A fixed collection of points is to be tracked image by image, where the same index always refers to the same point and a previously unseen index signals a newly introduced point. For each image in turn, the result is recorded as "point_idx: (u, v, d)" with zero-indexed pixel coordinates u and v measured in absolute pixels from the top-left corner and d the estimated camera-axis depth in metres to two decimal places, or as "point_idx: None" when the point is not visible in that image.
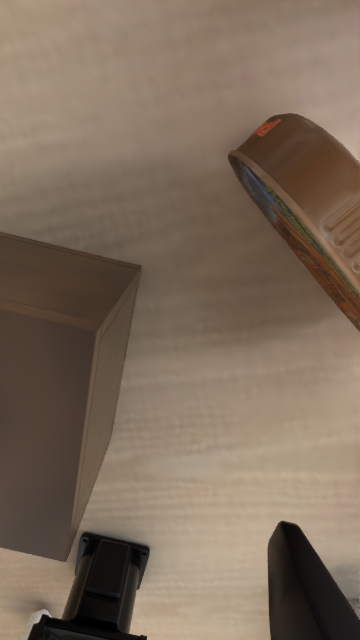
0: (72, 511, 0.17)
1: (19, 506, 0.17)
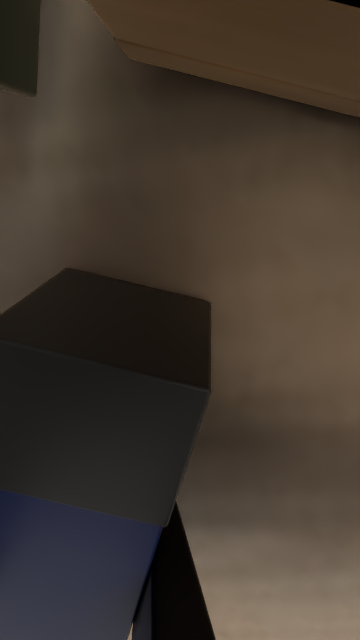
0: None
1: None
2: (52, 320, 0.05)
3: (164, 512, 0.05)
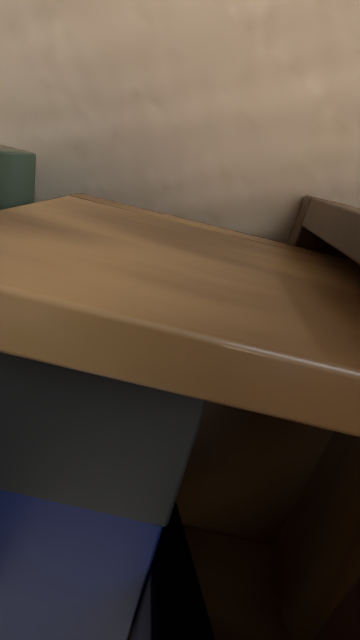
0: None
1: None
2: None
3: (164, 512, 0.05)
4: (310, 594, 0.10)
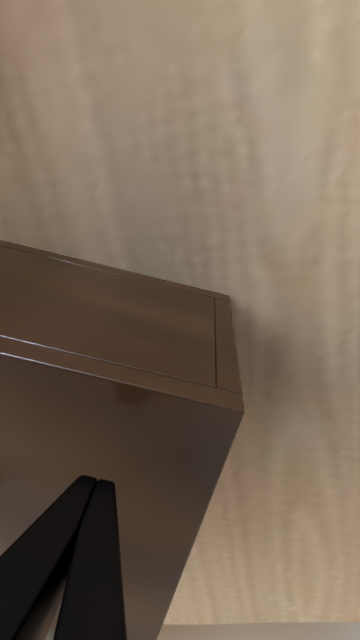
0: (92, 375, 0.09)
1: (95, 451, 0.10)
2: None
3: None
4: None
